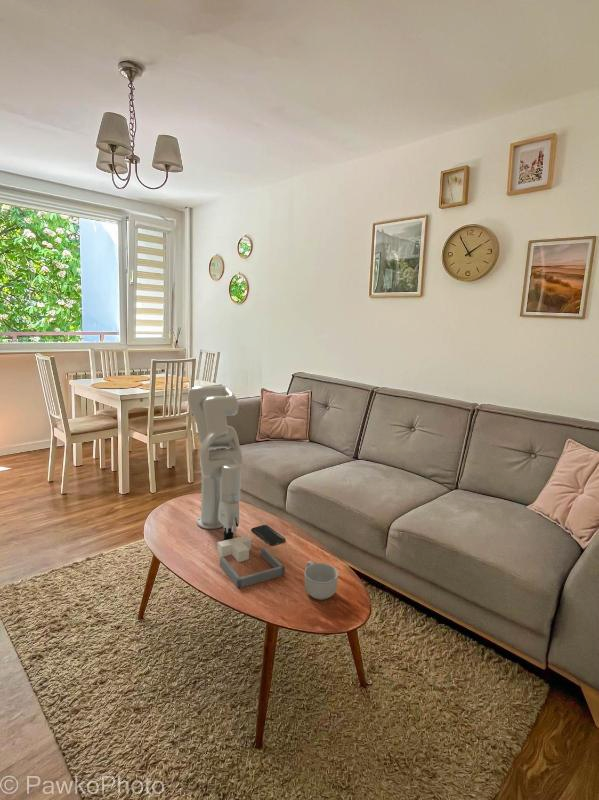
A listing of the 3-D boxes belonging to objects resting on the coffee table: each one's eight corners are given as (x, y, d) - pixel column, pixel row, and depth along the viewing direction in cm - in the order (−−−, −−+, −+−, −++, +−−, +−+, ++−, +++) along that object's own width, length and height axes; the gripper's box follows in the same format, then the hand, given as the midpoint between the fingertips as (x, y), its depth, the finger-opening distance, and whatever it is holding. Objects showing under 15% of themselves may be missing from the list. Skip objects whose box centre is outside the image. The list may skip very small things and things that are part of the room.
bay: (219, 565, 156) (220, 557, 155) (263, 554, 165) (264, 546, 164) (238, 588, 143) (238, 580, 143) (284, 575, 152) (284, 567, 152)
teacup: (341, 602, 140) (343, 579, 138) (308, 606, 137) (310, 582, 135) (326, 577, 153) (328, 556, 151) (296, 580, 150) (297, 558, 148)
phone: (265, 524, 187) (286, 539, 176) (265, 526, 188) (286, 541, 176) (249, 528, 183) (270, 544, 171) (249, 531, 183) (269, 547, 171)
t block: (217, 551, 164) (217, 541, 164) (246, 544, 171) (246, 535, 170) (228, 564, 156) (228, 554, 156) (258, 556, 163) (258, 546, 162)
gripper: (213, 490, 172) (211, 534, 175) (228, 505, 159) (227, 552, 162) (231, 487, 176) (229, 530, 179) (247, 501, 163) (245, 547, 166)
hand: (228, 540), depth 171 cm, fingers closed
